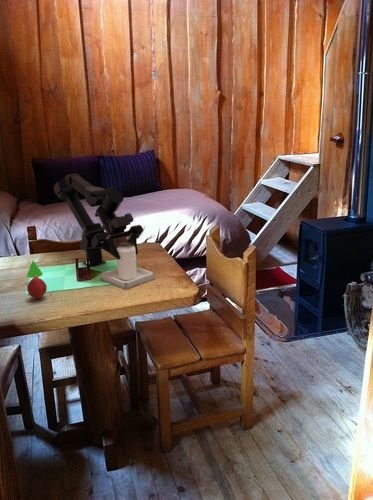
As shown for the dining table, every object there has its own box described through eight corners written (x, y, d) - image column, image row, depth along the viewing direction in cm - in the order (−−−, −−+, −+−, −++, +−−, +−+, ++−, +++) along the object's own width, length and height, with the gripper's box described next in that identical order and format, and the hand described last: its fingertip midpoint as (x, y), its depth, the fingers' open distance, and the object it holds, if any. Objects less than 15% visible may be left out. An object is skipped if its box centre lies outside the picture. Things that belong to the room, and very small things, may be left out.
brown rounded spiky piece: (130, 250, 194) (128, 215, 189) (119, 253, 190) (117, 218, 185) (120, 247, 198) (117, 213, 194) (109, 250, 194) (106, 215, 190)
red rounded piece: (37, 304, 143) (34, 280, 141) (24, 300, 146) (21, 276, 143) (51, 297, 148) (48, 274, 145) (39, 294, 151) (36, 271, 148)
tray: (100, 279, 162) (100, 273, 161) (129, 269, 171) (129, 264, 170) (125, 289, 153) (125, 283, 152) (154, 279, 161) (154, 273, 161)
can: (138, 279, 160) (136, 246, 156) (119, 281, 158) (117, 248, 154) (134, 273, 165) (133, 241, 162) (116, 275, 164) (115, 243, 160)
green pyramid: (45, 276, 167) (43, 260, 165) (28, 279, 164) (26, 263, 162) (41, 271, 172) (39, 256, 170) (24, 274, 169) (22, 259, 167)
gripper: (92, 210, 151) (113, 250, 146) (139, 202, 163) (159, 238, 158) (83, 229, 159) (101, 267, 155) (128, 220, 171) (146, 255, 166)
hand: (128, 256), depth 158 cm, fingers open, 7 cm apart
